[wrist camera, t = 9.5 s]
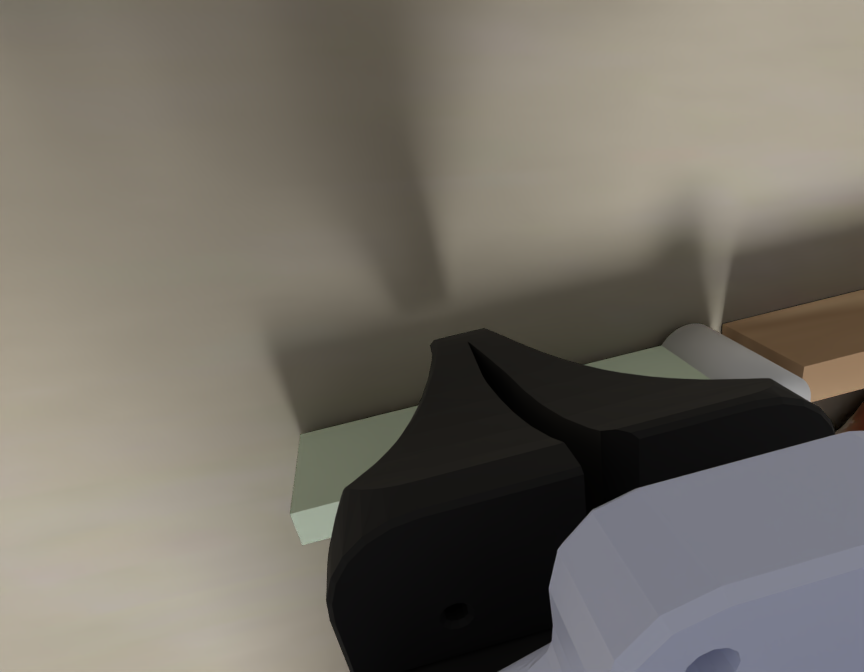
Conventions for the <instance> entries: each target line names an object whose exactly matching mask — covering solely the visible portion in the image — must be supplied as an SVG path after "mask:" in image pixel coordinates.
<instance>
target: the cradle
mask: <svg viewBox="0 0 864 672" xmlns="http://www.w3.org/2000/svg"><path fill="white" fill-rule="evenodd" d="M722 335H724V336H726V337H728V338H730V339H731V340H733V341H735V342H737V343H739V344H741V345H742V346H744V347H746V348H748V349H750V350H751V351H753V352H755V353H757V354H759V355H761V356H762V357H764V358H766V359H768V360H770V361H771V362H773V363H775V364H777V365H779V366H780V367H782V368H784V369H786V370H788V371H790V372H791V373H793V374H795V375H797V376H799V377H800V378H802V379H803V380H805V381H806V383H807V384H808V386H809V388H810V392H811V400H810V402H814V401H818V400H822V399H826V398H829V397H833V396H837V395H841V394H845V393H848V392H852V391H856V390H860V389H864V290H859V291H855V292H851V293H847V294H843V295H839V296H835V297H831V298H827V299H823V300H819V301H815V302H811V303H806V304H802V305H798V306H794V307H790V308H786V309H782V310H778V311H774V312H770V313H766V314H762V315H758V316H753V317H749V318H745V319H741V320H737V321H733V322H729V323H725V324H723V326H722Z"/></svg>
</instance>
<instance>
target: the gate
mask: <svg viewBox="0 0 864 672" xmlns="http://www.w3.org/2000/svg"><path fill="white" fill-rule="evenodd" d="M584 365H586V366H591V367H595V368H599V369H604V370H609V371H615V372H621V373H628V374H636V375H643V376H652V377H664V378H681V379H750V378H771V379H773V380H774V381H776V382H778V383H779V384H781V385H783V386H784V387H786V388H788V389H789V390H791V391H793V392H794V393H796V394H798V395H799V396H801V397H803V398H804V399H806V400H808V401H809V402H810V400H811V392H810V388H809V386H808V384H807V383H806V381H805V380H803V379H802V378H800V377H799V376H797V375H795V374H793V373H791V372H790V371H788V370H786V369H784V368H782V367H780V366H779V365H777V364H775V363H773V362H771V361H770V360H768V359H766V358H764V357H762V356H761V355H759V354H757V353H755V352H753V351H751V350H750V349H748V348H746V347H744V346H742V345H741V344H739V343H737V342H735V341H733V340H731V339H730V338H728V337H726V336H724V335H722V334H721V333H719V332H717V331H715V330H713V329H712V328H710V327H708V326H706V325H703V324H698V323H694V324H688V325H685V326H682V327H680V328H678V329H677V330H675V331H674V332H672V333H671V334H670V335H669V336H668V337H667V338H666V340H665V341H664V342H663V344H662V345H661V346H657V347H653V348H649V349H645V350H641V351H637V352H633V353H629V354H625V355H621V356H617V357H613V358H609V359H605V360H601V361H597V362H592V363H588V364H584ZM417 407H418V406H414V407H410V408H406V409H402V410H398V411H394V412H390V413H386V414H381V415H377V416H373V417H369V418H365V419H361V420H357V421H353V422H349V423H345V424H341V425H337V426H333V427H329V428H325V429H321V430H317V431H312V432H308V433H304V434H300V441H299V449H298V456H297V464H296V472H295V479H294V487H293V495H292V502H291V510H290V515H291V518H292V520H293V523H294V525H295V528H296V530H297V533H298V536H299V538H300V541H301V543H302V545H306V544H309V543H313V542H317V541H321V540H324V539H328V538H331V535H332V530H333V526H334V521H335V516H336V513H337V509H338V505H339V502H340V498H341V495H342V492H343V490H344V488H345V487H346V486H348V485H349V484H350V483H352V482H353V481H354V480H356V479H357V478H358V477H359V476H360V475H362V474H363V473H364V472H365V471H367V470H368V469H369V468H370V467H372V466H373V465H374V464H375V463H376V462H377V461H378V460H379V459H380V458H381V457H382V456H383V455H384V454H385V453H386V452H387V451H388V450H389V449H390V448H391V447H392V446H393V445H394V444H395V442H396V441H397V440H398V439H399V437H400V436H401V435H402V433H403V431H404V430H405V428H406V427H407V425H408V424H409V422H410V420H411V419H412V417H413V415H414V413H415V411H416V409H417Z"/></svg>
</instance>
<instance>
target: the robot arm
mask: <svg viewBox="0 0 864 672" xmlns="http://www.w3.org/2000/svg"><path fill="white" fill-rule="evenodd" d="M430 347H431V352H432V363H431V368H430V373H429V377H428V381H427V384H426V387H425V390H424V393H423V396H422V398H421V400H420V403H419V405H418V407H417V409H416V411H415V413H414V415H413V417H412V419H411V420H410V422H409V424H408V425H407V427H406V428H405V430H404V431H403V433H402V435H401V436H400V437H399V439H398V440H397V441H396V442H395V444H394V445H393V446H392V447H391V448H390V449H389V450H388V451H387V452H386V453H385V454H384V455H383V456H382V457H381V458H380V459H379V460H378V461H377V462H376V463H375V464H374V465H373V466H372V467H370V468H369V469H368V470H367V471H365V472H364V473H363V474H362V475H360V476H359V477H358V478H357V479H356V480H354V481H353V482H352V483H350V484H349V485H348V486H346V487H345V488H344V490H343V492H342V495H341V498H340V502H339V505H338V509H337V513H336V516H335V521H334V526H333V530H332V535H331V541H330V547H329V554H328V563H327V593H326V602H327V607H328V613H329V618H330V622H331V624H332V627H333V630H334V632H335V635H336V637H337V640H338V642H339V645H340V647H341V650H342V652H343V655H344V657H345V660H346V662H347V665H348V667H349V670H350V672H864V431H848V432H844V433H839V434H835V431H834V427H833V424H832V421H831V420H830V419H829V418H828V417H827V415H826V414H825V413H824V412H823V411H822V409H821V408H819V407H818V406H816V405H814V404H813V403H811V402H809V401H808V400H806V399H804V398H803V397H801V396H799V395H798V394H796V393H794V392H793V391H791V390H789V389H788V388H786V387H784V386H783V385H781V384H779V383H778V382H776V381H774V380H773V379H771V378H750V379H681V378H664V377H652V376H643V375H636V374H628V373H621V372H615V371H609V370H604V369H599V368H595V367H591V366H586V365H582V364H578V363H574V362H571V361H567V360H564V359H561V358H558V357H555V356H552V355H549V354H546V353H543V352H540V351H538V350H535V349H533V348H530V347H528V346H525V345H523V344H520V343H518V342H516V341H513V340H511V339H509V338H507V337H504V336H502V335H500V334H497V333H495V332H493V331H490V330H488V329H484V328H483V329H479V330H474V331H470V332H466V333H462V334H457V335H453V336H449V337H445V338H440V339H436V340H434V341H433V342H432V344H431V345H430Z"/></svg>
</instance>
